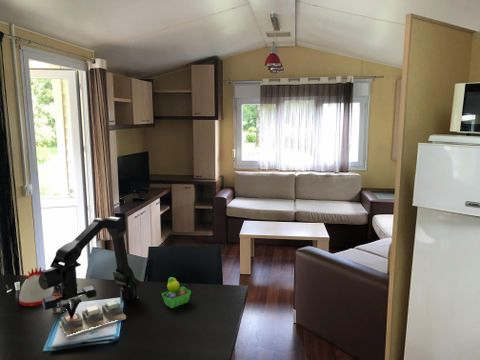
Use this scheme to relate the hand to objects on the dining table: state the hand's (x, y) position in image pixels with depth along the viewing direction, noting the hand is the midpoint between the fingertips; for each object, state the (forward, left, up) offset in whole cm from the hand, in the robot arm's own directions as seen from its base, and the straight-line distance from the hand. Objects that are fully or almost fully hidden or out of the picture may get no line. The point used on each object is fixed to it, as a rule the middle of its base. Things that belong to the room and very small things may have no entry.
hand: (71, 317), depth 149 cm
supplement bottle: (+1, -18, -5) cm, 19 cm away
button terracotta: (0, 0, -3) cm, 3 cm away
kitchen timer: (+7, -37, -5) cm, 38 cm away
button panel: (-8, 0, -4) cm, 9 cm away
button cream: (-8, 0, -1) cm, 8 cm away
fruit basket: (-42, +6, -5) cm, 43 cm away
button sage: (-16, 0, -2) cm, 16 cm away
